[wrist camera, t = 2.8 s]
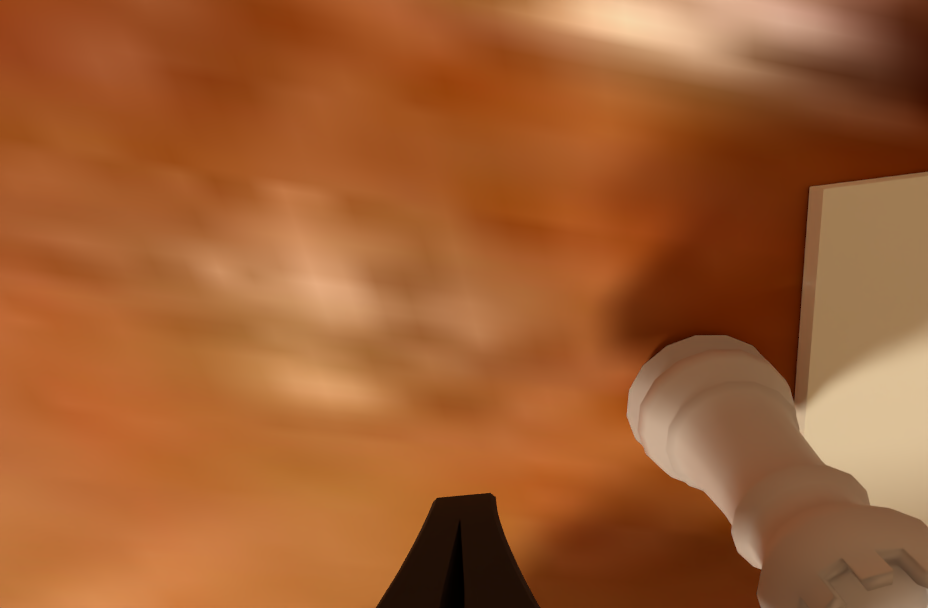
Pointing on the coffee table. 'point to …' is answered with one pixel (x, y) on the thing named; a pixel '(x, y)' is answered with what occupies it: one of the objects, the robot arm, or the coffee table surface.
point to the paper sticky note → (868, 336)
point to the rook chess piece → (773, 481)
